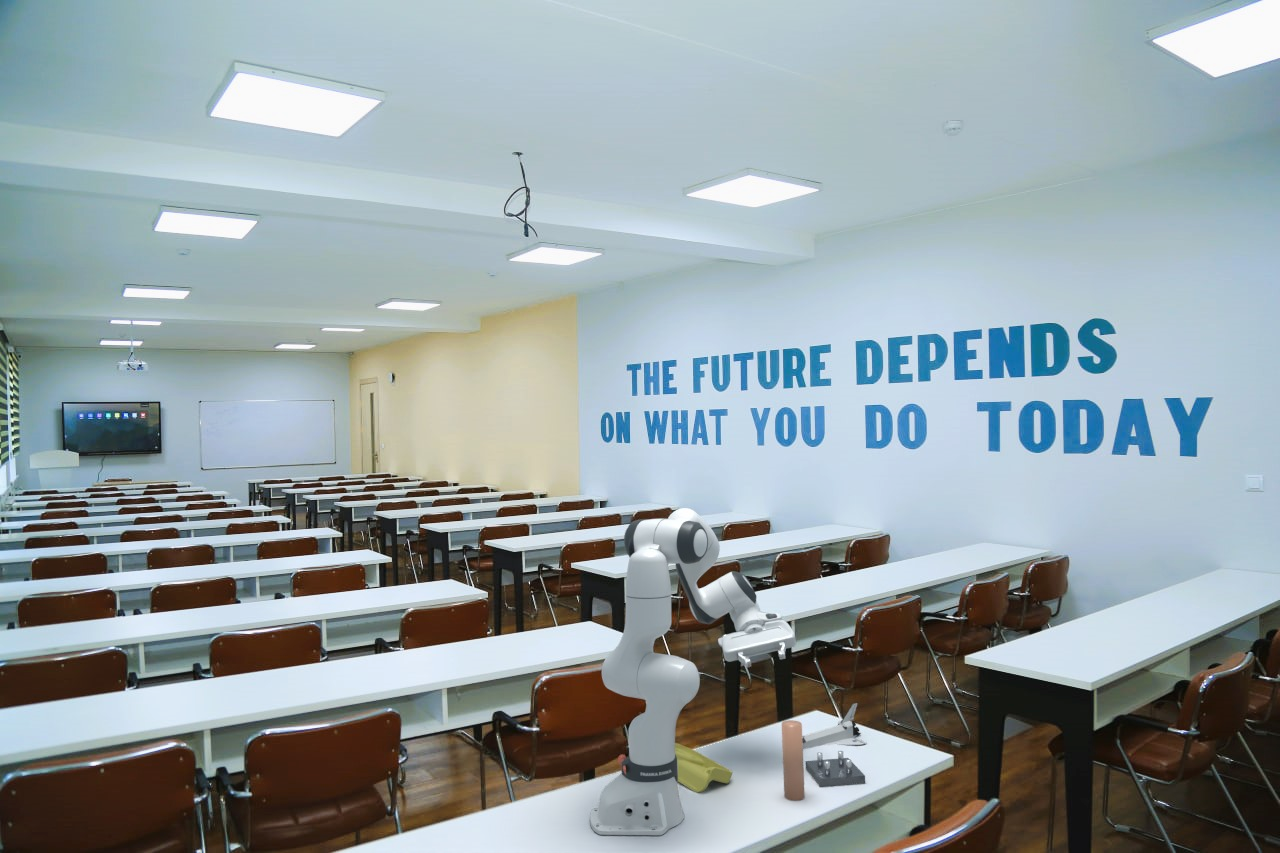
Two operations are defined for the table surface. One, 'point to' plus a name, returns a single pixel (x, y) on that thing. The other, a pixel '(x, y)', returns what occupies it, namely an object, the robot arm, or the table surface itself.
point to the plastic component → (698, 769)
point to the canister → (793, 760)
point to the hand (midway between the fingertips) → (765, 661)
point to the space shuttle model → (836, 733)
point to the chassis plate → (834, 771)
